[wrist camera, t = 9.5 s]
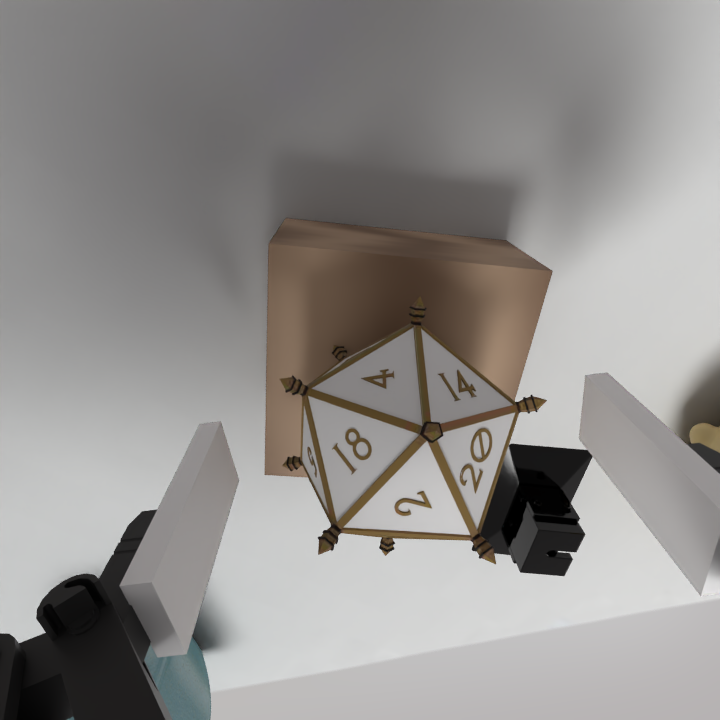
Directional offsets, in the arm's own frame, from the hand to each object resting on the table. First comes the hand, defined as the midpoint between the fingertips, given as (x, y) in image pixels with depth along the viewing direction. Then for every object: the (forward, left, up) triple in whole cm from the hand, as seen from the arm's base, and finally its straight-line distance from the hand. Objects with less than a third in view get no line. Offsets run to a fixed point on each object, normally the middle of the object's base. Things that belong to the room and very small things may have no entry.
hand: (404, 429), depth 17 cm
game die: (0, 0, -4) cm, 4 cm away
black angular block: (+8, -14, -10) cm, 19 cm away
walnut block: (0, 0, -10) cm, 10 cm away
